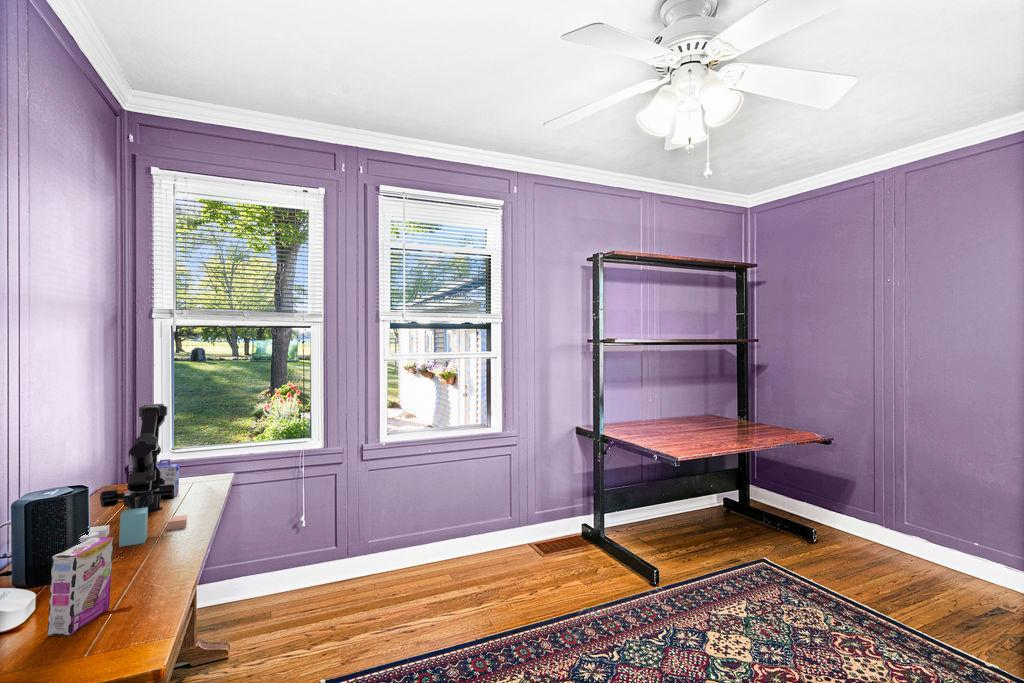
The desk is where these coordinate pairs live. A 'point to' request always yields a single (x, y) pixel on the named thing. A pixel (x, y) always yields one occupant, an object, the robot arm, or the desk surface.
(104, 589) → the candy bar box
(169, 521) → the terracotta block
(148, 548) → the desk surface
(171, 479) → the ink cartridge box
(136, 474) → the robot arm
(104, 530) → the pale grey block
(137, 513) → the teal upright rectangular block
